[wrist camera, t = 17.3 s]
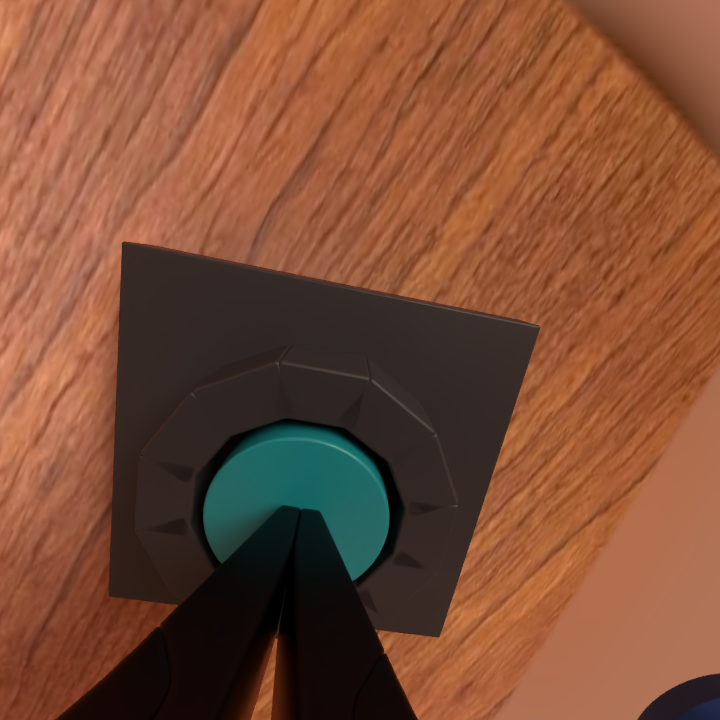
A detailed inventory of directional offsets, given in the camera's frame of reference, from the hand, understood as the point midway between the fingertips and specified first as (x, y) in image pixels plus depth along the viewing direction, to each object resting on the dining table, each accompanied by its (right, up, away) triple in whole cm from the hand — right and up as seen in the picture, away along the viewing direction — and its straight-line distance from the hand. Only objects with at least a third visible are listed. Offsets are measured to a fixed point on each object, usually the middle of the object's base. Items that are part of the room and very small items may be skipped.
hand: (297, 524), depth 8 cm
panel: (0, +1, +3) cm, 3 cm away
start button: (0, 0, +2) cm, 2 cm away
